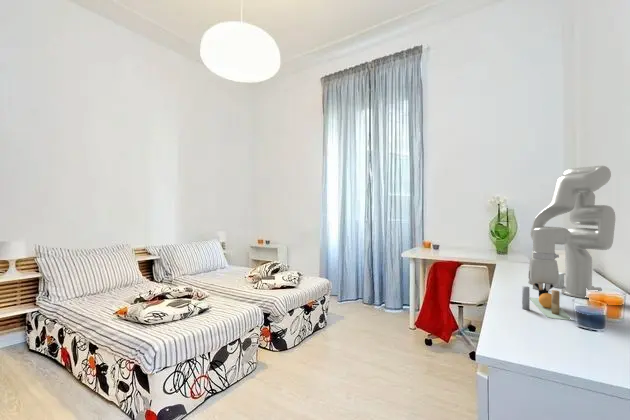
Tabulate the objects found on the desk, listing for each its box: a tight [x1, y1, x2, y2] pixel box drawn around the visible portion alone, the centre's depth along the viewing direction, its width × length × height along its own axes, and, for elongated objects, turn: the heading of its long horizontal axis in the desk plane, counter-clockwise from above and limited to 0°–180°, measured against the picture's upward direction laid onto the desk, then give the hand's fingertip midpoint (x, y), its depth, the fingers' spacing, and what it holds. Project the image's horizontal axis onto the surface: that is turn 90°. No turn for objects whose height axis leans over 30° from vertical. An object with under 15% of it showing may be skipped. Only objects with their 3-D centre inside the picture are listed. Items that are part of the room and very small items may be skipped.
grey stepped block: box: [532, 283, 544, 291], centre depth 154 cm, size 7×2×8 cm, turn 52°
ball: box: [538, 292, 552, 308], centre depth 126 cm, size 6×6×6 cm
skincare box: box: [554, 271, 565, 289], centre depth 160 cm, size 6×6×7 cm
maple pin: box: [551, 289, 561, 315], centre depth 118 cm, size 2×2×9 cm
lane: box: [530, 297, 572, 321], centre depth 126 cm, size 28×8×1 cm, turn 157°
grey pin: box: [521, 285, 531, 311], centre depth 124 cm, size 2×2×9 cm
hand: (543, 299), depth 131 cm, fingers closed
